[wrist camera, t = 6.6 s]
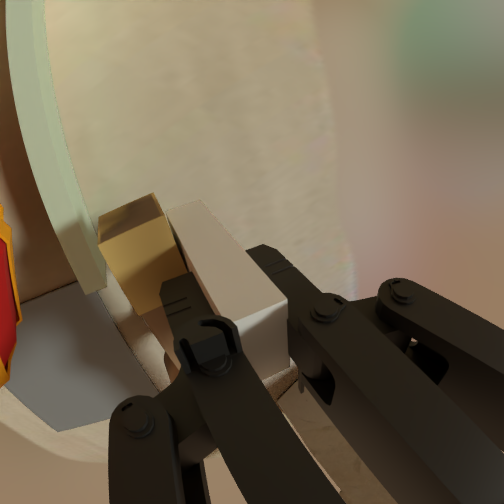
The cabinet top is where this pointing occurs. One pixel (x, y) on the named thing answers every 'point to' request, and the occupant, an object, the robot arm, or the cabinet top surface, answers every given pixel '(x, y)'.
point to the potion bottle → (7, 301)
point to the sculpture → (332, 449)
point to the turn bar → (143, 263)
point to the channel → (49, 142)
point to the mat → (73, 360)
